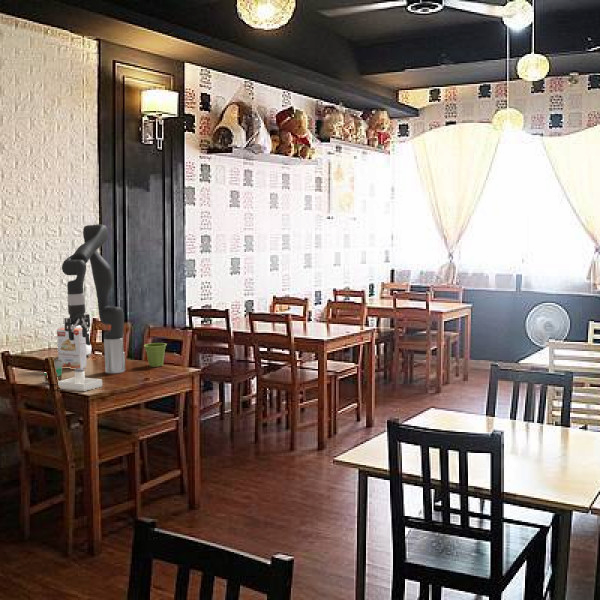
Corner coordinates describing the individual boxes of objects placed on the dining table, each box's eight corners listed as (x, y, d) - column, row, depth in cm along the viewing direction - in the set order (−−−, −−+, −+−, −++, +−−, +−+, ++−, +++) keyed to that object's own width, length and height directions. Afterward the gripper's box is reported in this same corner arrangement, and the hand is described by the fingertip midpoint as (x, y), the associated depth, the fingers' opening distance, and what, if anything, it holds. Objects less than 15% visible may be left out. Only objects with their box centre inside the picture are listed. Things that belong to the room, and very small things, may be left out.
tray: (75, 384, 364) (75, 376, 364) (102, 386, 357) (102, 379, 357) (57, 389, 353) (56, 381, 353) (84, 392, 346) (83, 384, 346)
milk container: (54, 359, 434) (52, 327, 432) (69, 354, 450) (68, 323, 449) (82, 360, 430) (80, 327, 428) (97, 354, 446) (95, 323, 445)
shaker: (79, 384, 358) (79, 367, 357) (87, 385, 356) (86, 368, 355) (72, 386, 354) (72, 369, 354) (80, 387, 352) (79, 370, 352)
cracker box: (58, 368, 405) (56, 328, 403) (65, 366, 411) (63, 327, 409) (80, 370, 400) (78, 329, 398) (87, 367, 406) (85, 328, 404)
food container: (56, 385, 363) (55, 363, 362) (44, 384, 364) (42, 363, 363) (68, 379, 375) (68, 359, 374) (57, 379, 376) (56, 359, 375)
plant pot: (141, 365, 411) (140, 344, 409) (163, 363, 416) (162, 342, 415) (148, 368, 400) (148, 347, 399) (170, 366, 406) (169, 345, 405)
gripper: (80, 301, 362) (82, 335, 363) (58, 305, 349) (61, 340, 351) (93, 302, 358) (95, 336, 360) (71, 305, 346) (73, 341, 347)
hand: (78, 338), depth 355 cm, fingers open, 8 cm apart
